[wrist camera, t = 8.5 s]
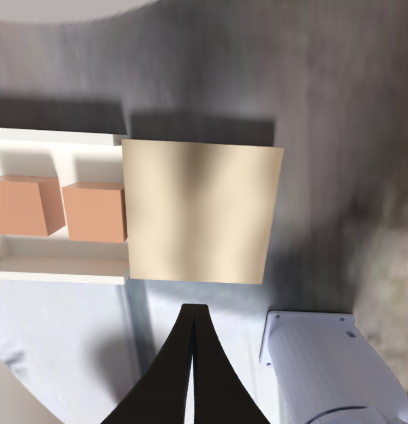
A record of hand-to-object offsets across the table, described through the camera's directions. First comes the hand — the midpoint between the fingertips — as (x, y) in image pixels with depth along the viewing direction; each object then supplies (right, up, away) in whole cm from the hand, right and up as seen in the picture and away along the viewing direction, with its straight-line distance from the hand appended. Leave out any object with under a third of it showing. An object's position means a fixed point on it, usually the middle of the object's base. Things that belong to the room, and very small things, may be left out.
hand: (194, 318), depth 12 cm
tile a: (-8, +6, +8) cm, 13 cm away
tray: (-12, +7, +8) cm, 16 cm away
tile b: (-15, +7, +8) cm, 18 cm away
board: (0, +6, +8) cm, 10 cm away
